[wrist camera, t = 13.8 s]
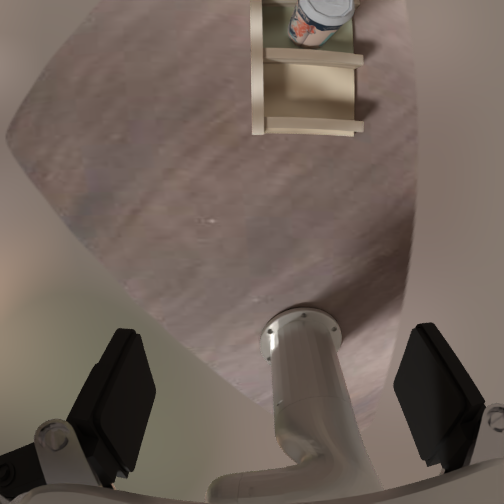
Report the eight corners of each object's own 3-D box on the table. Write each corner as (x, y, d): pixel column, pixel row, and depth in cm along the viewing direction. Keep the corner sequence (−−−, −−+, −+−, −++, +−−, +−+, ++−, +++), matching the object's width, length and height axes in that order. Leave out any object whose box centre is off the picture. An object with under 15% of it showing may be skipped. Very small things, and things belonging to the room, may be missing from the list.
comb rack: (351, 136, 35) (364, 138, 31) (252, 133, 35) (252, 134, 31) (348, 2, 28) (360, -11, 24) (250, -4, 28) (249, -19, 24)
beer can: (288, 12, 28) (302, -29, 17) (328, 19, 29) (358, -17, 18) (285, 47, 30) (299, 17, 19) (326, 54, 30) (357, 28, 20)
